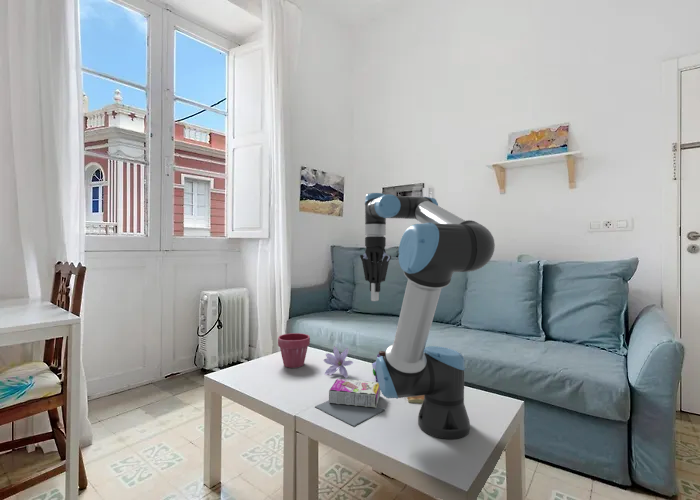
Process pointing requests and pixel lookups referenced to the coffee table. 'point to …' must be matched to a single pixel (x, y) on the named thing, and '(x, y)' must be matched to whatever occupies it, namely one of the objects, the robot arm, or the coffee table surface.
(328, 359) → the water lily
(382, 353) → the potion bottle
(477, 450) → the coffee table surface
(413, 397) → the shard
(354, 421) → the mat
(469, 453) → the coffee table surface
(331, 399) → the candy bar box
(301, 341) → the plant pot
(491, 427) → the coffee table surface
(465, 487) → the coffee table surface
